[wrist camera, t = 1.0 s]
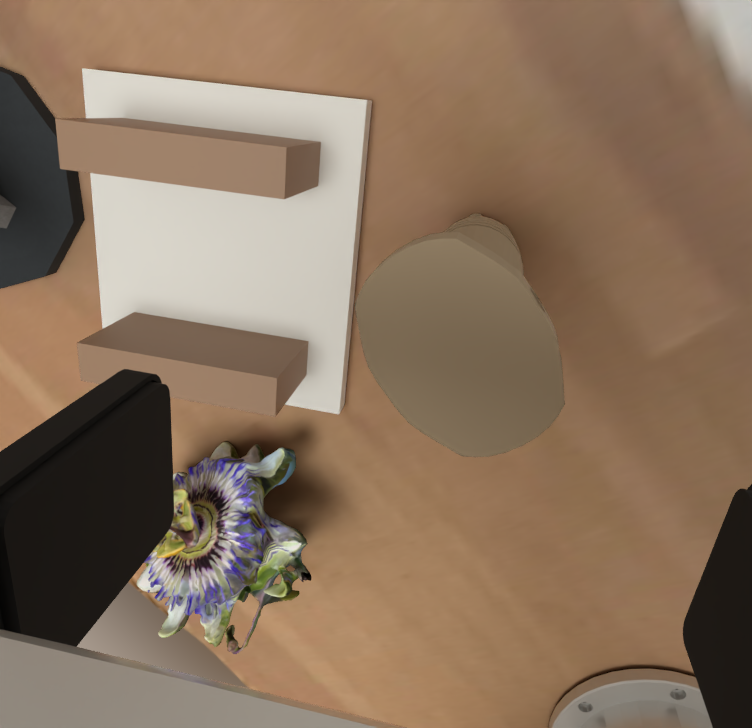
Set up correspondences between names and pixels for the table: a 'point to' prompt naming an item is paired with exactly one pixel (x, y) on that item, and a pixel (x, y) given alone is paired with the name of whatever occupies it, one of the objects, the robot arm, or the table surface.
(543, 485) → the table surface
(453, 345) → the handle
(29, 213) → the gun turret
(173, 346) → the white base with blocks
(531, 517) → the table surface
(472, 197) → the table surface
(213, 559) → the passion flower
